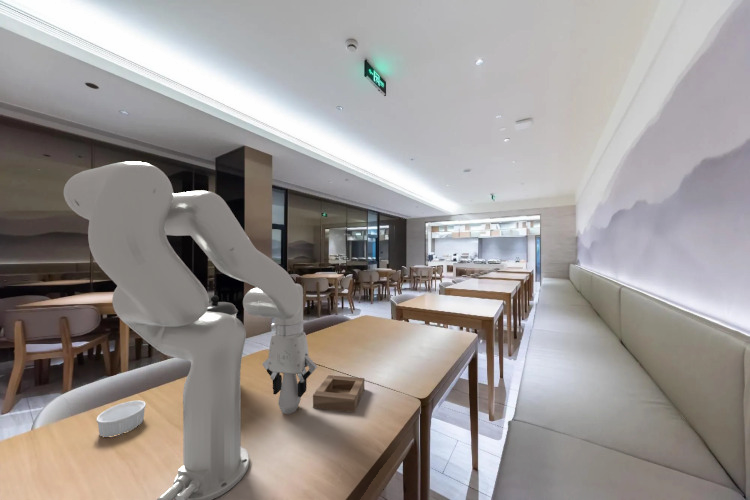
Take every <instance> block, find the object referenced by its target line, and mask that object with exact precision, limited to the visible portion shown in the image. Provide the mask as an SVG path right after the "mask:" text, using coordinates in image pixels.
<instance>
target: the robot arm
mask: <svg viewBox="0 0 750 500" xmlns="http://www.w3.org/2000/svg"><path fill="white" fill-rule="evenodd" d="M63 197H64V201H65V202H66V204H67V205H68V207H69V208H70V209H71V210H72V211H73V212H74V213H76V215H78V216H80V217H82V218H83V219H85V220H88V222H89V223H88V231H87V235H88V236H87V239H88V244H89V245H88V247H89V250H90V252H91V255H92V257H93V259H94V261H95V262H96V264H97V265H98V266H99V268H100V269H101V270H102V271H103V272H104V274H105V275H106V276H108V278H109V279H110V280H111V281H112V282H113V283H114V284H115V285H116V288H115V289H114V290H113V294H112V299H111V301H112V307H113V310H114V312H115V314H116V315H117V317H118V318H119V319H120V321H122V322H123V323H124V324H125V325H127V326H128V327H129V328H130V329H132V331H133V332H135V333H136V334H137V335H139V336H140V337H141V338H142V339H143V340H144V341H146V342H147V343H148V344H149V345H151V346H152V347H153V348H154V349H156V351H159V352H160V353H162V354H163V355H165V356H168V357H171V358H175V359H180V360H184V361H187V362H190V369H189V372H188V373H187V376H186V379H185V381H184V386H183V392H182V406H183V407H182V409H183V410H182V411H183V415H182V416H183V417H182V419H183V420H182V421H183V422H182V423H183V426H182V427H183V428H182V429H183V431H182V433H183V438H182V441H183V443H182V445H183V450H182V451H183V459H182V461H183V465H182V466H181V467H180V468H178V470H177V474H176V477H175V479H174V480H173V483H172V486H170V487H169V488H168V489H167V490H166V491H165V492H163V493H162V494H161V495H160V496H159V497H158V498H157V499H156V500H214V499H215V500H216V499H217V498H219V497H221V496H223V494H226V493H227V492H228V491H230V490H231V489H232V488H234V487H235V486H236V485H237V484H238V483H239V482H240V481H241V479H242V478H243V477H244V476H245V474H246V473H247V471H248V468H249V466H250V464H249V463H250V455H249V452H248V450H247V449H246V448H245V447H243V446H241V444H242V443H241V439H242V438H241V437H242V435H241V429H242V427H241V426H242V425H241V422H242V421H241V416H242V415H241V413H242V412H241V410H242V409H241V369H242V368H241V367H242V359H243V354H244V348H245V345H246V344H245V343H246V336H247V335H246V334H247V333H246V329H245V328H246V327H245V326H244V324H243V322H242V321H241V320H240V318H237V316H236V317H234V316H232V315H229V314H225V313H219V312H210V311H207V309H208V306H209V303H210V297H209V296H210V295H209V294H208V291H207V290H206V288H205V287H204V285H203V283H202V282H201V281H200V280H199V279H198V278H197V276H196V275H195V274H194V273H193V272H192V270H191V269H190V268H189V267H188V266H187V265H186V264H185V262H184V261H183V260H182V259H181V258H180V256H179V255H178V254H177V253H176V251H175V250H174V248H173V246H172V245H171V244H170V242H169V240H168V237H167V236H173V237H174V236H176V237H178V236H179V237H180V236H181V237H182V236H184V237H185V236H190V237H191V238H192V239H193V241H194V242H195V243H196V244H197V245H198V246H199V248H200V249H201V250H202V251H203V253H205V255H206V256H207V258H208V259H209V260H210V262H212V263H213V265H214V266H215V267H216V269H217V270H218V271H219V272H221V274H224V275H226V276H228V277H230V278H232V279H235V280H238V281H240V282H244V283H246V284H249V285H251V286H253V287H254V288H251V289H250V290H248V291H247V293H245V295H244V297H243V300H242V306H243V308H244V311H245V312H246V313H247V314H249V315H250V316H251V315H252V316H255V317H259V318H269V319H272V318H273V319H274V323H271V325H270V328H271V329H274V333H272V334H271V336H270V337H271V338H270V343H269V346H268V347H269V348H268V349H269V350H268V358H267V359H265V360H264V361H263V363H262V366H263V367H264V369H265V370H266V372H267V374H268V375H269V376H270V380H272V392H273V395H277V394H278V393H280V391H281V386H282V380H283V376H282V374H283V373H289V374H296V376H297V377H298V378H297V379H298V381H297V383H298V397H300V398H301V397H302V396H303V395H304V393H306V392H307V379H308V378H309V377H310V376H311V375H312V373H313V372H315V370H316V369H317V368H318V366H317V364H316V363H315V362H314V361H313V359H311V358H310V355H309V346H308V345H309V344H308V339H307V335H306V332H305V331H304V288H303V285H301V284H300V283H295V281H294V280H293V278H292V275H290V274H289V273H288V271H286V269H284V268H283V267H282V266H281V265H279V264H278V263H277V262H275V260H273V259H272V258H271V257H269V256H267V255H266V254H265V253H263V252H261V251H260V250H258V249H257V248H256V247H255V245H254V244H253V243H252V241H251V239H250V238H249V236H248V235H247V233H246V231H245V230H244V229H243V227H242V226H241V224H240V222H239V221H238V219H237V218H236V217H235V215H234V213H233V212H232V210H231V208H230V206H229V205H228V204H227V202H226V201H225V200H224V198H222V197H221V196H220V195H219V194H217V193H215V192H213V191H209V190H208V191H207V190H191V191H186V192H185V191H183V192H178V193H177V192H176V193H174V189H173V186H172V183H171V181H170V179H169V178H168V176H167V175H166V174H165V172H164V171H162V170H161V169H160V168H158V166H155V165H152V164H150V163H148V162H142V161H133V160H132V161H122V162H115V163H111V164H107V165H103V166H99V167H95V168H90V169H86V170H83V171H80V172H78V173H77V174H73V176H71V177H70V178H69V179H68V180H67V181H66V183H65V185H64V188H63ZM307 367H308V370H307V369H306V368H307Z"/></svg>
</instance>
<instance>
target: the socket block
mask: <svg viewBox="0 0 750 500" xmlns="http://www.w3.org/2000/svg"><path fill="white" fill-rule="evenodd" d="M364 391H365V378H364V377H356V376H355V377H354V376H343V375H331V374H329V375H327V377H326V378H324V380H323V382H321V384H320V386H318V388H317V389H316V390H315V392H314V393H313V394H312V408H313V409H320V410H331V411H339V412H348V413H355V412H356V410H357V407H358V405H359V403H360V400H361V398H362V396H363V394H364Z"/></svg>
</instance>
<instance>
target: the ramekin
mask: <svg viewBox="0 0 750 500" xmlns="http://www.w3.org/2000/svg"><path fill="white" fill-rule="evenodd" d="M146 406H147V404H146V402H145V400H139V399H138V400H130V401H126V402H125V401H124V402H122V403H118V404H116V405H112V406H111V407H109V408H107V409H105V410H104V411H102V412H100V413H99V414H98V415H97V416H96V423H97V427H98V434H99V437H101V436H104V437H109V436H114V435H118V434H122V433H124V432H127V431H130V430H131V431H133V430H135V429H136V428H138V427H139V426H140V425H141V424H142V423H143V421H144V417H145V408H146ZM138 425H139V426H138ZM137 426H138V427H137ZM135 427H136V428H135ZM134 428H135V429H134ZM132 429H133V430H132ZM131 431H130V432H131ZM127 433H128V432H127ZM122 435H123V434H122ZM104 437H103V438H104Z"/></svg>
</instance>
